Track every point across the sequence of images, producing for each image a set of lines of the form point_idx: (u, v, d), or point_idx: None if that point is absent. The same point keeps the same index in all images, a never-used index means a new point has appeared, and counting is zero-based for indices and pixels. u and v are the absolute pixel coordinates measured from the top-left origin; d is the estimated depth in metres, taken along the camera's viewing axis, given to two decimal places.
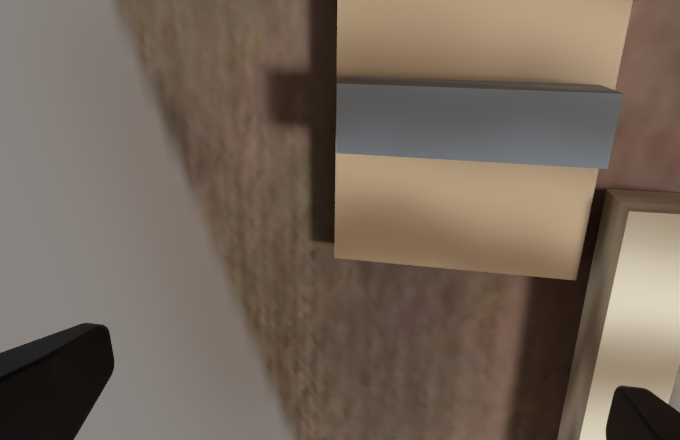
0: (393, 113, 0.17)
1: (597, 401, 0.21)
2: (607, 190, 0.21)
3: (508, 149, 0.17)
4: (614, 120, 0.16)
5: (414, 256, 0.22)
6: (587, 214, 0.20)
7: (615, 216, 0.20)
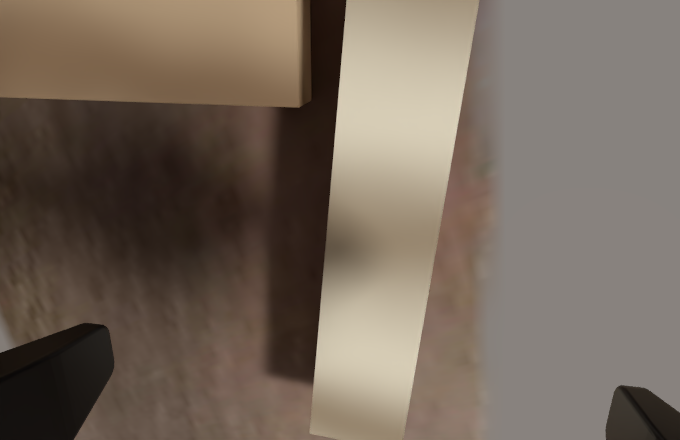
0: None
1: (335, 283, 0.15)
2: None
3: None
4: None
5: (84, 85, 0.15)
6: None
7: None
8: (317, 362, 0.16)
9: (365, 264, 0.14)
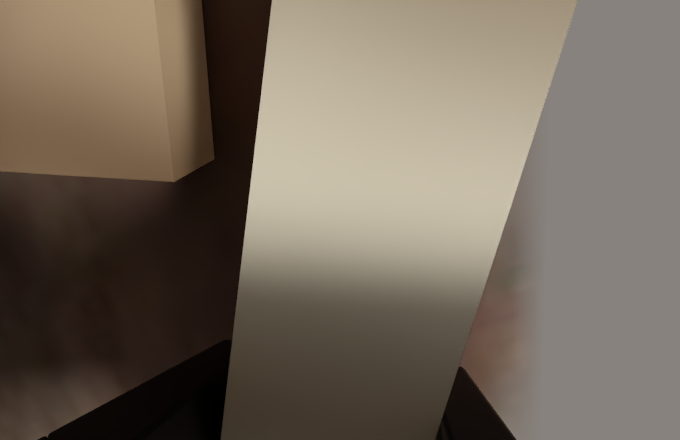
0: None
1: None
2: None
3: None
4: None
5: None
6: None
7: None
8: None
9: None
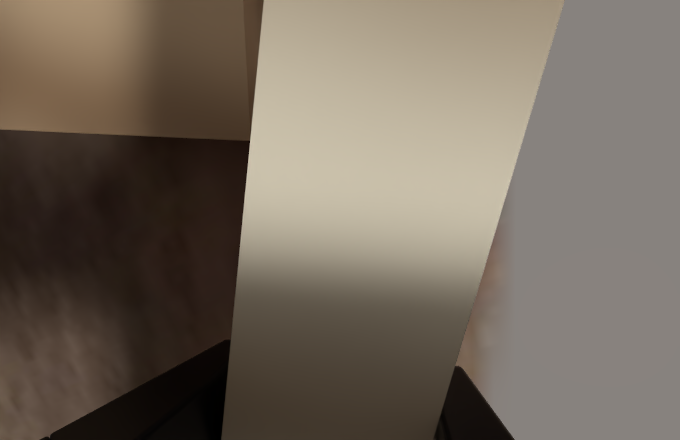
0: None
1: None
2: None
3: None
4: None
5: None
6: None
7: None
8: None
9: None
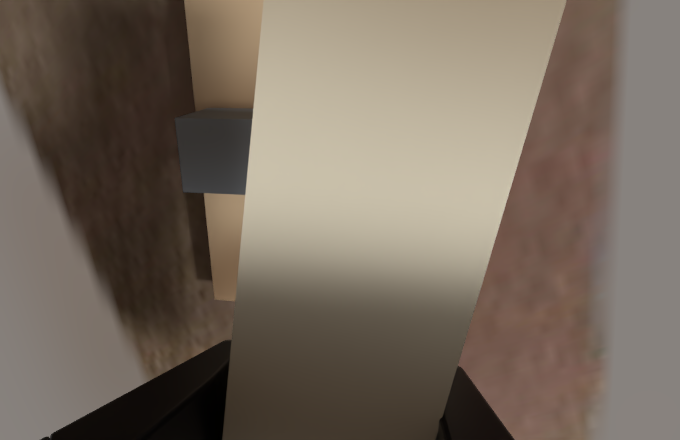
0: (236, 149, 0.16)
1: None
2: None
3: None
4: None
5: None
6: None
7: None
8: None
9: None
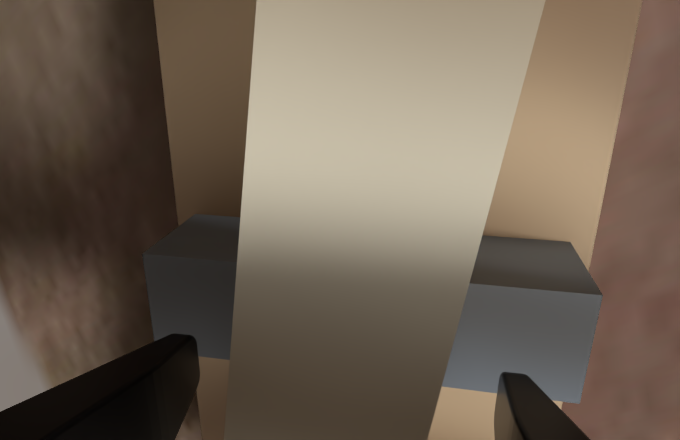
0: (233, 302, 0.11)
1: None
2: None
3: None
4: (588, 334, 0.09)
5: None
6: None
7: None
8: None
9: None
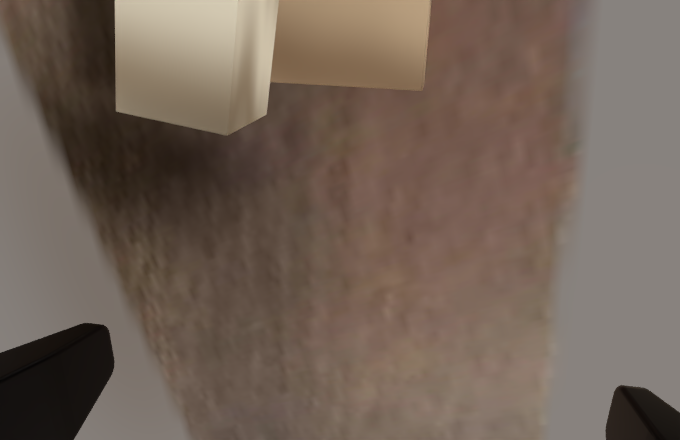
0: None
1: None
2: None
3: None
4: None
5: None
6: None
7: None
8: None
9: None
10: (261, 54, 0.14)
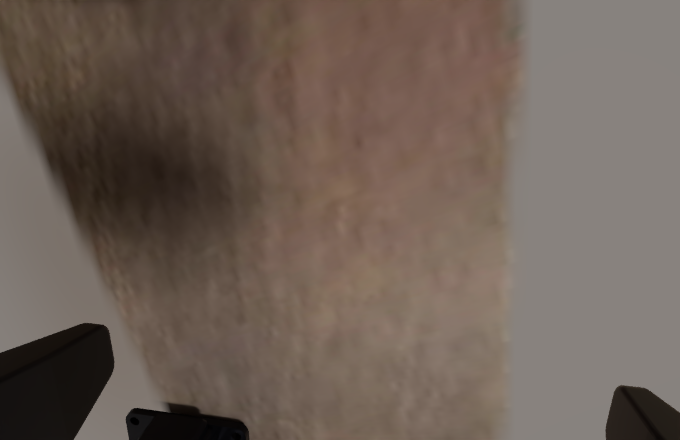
0: None
1: None
2: None
3: None
4: None
5: None
6: None
7: None
8: None
9: None
10: None
